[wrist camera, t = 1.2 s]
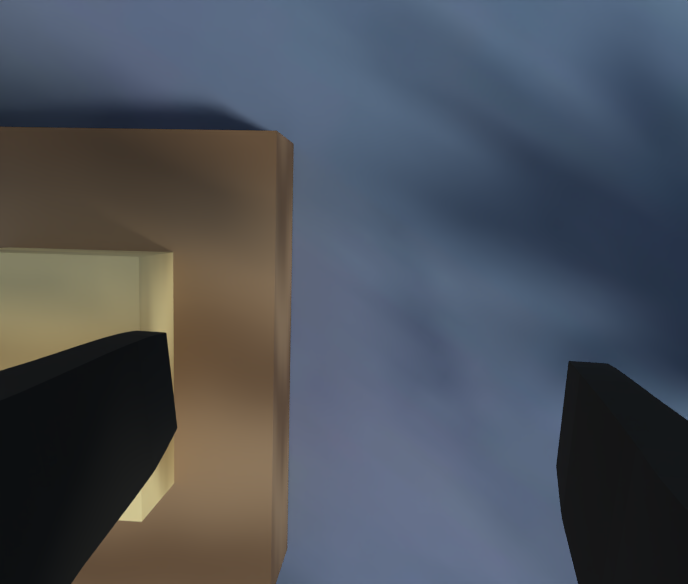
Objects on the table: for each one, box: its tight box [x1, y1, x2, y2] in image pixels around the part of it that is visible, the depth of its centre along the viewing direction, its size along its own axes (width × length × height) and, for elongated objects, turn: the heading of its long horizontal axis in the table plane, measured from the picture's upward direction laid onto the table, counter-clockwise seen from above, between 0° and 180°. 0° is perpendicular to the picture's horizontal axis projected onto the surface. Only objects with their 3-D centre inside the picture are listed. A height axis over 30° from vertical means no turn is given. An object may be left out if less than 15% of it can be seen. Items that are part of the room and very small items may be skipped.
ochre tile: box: [0, 247, 174, 522], centre depth 18 cm, size 7×5×2 cm
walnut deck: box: [0, 127, 293, 584], centre depth 21 cm, size 14×14×3 cm
